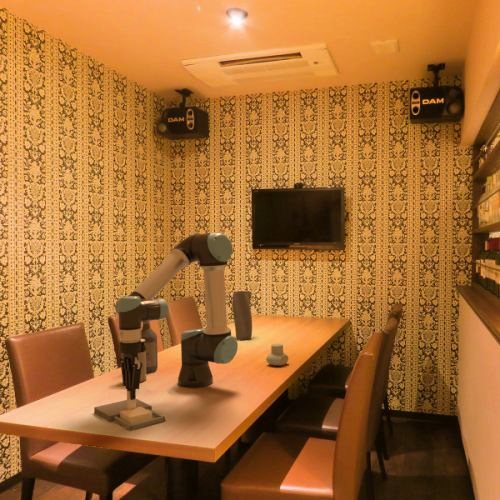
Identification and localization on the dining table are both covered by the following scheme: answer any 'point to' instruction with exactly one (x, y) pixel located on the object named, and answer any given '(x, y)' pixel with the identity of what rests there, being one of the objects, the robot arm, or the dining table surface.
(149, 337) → the liquor
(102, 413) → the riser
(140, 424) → the tray
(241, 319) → the vase
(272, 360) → the air freshener
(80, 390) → the dining table surface
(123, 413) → the coaster
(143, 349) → the travel mug
